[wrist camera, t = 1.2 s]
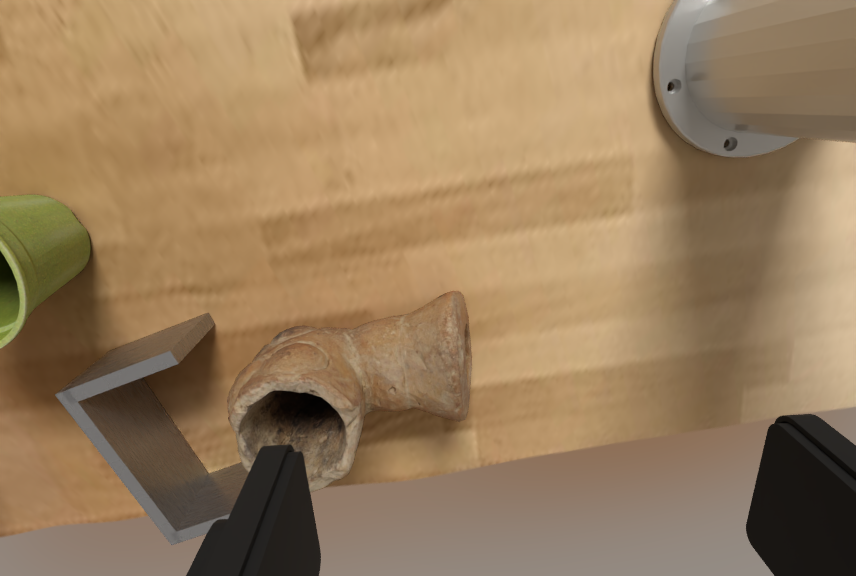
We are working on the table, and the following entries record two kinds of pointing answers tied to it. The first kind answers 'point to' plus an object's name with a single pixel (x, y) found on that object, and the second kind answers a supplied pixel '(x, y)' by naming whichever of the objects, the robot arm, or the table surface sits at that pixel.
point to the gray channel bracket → (152, 434)
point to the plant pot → (35, 256)
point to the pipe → (351, 384)
